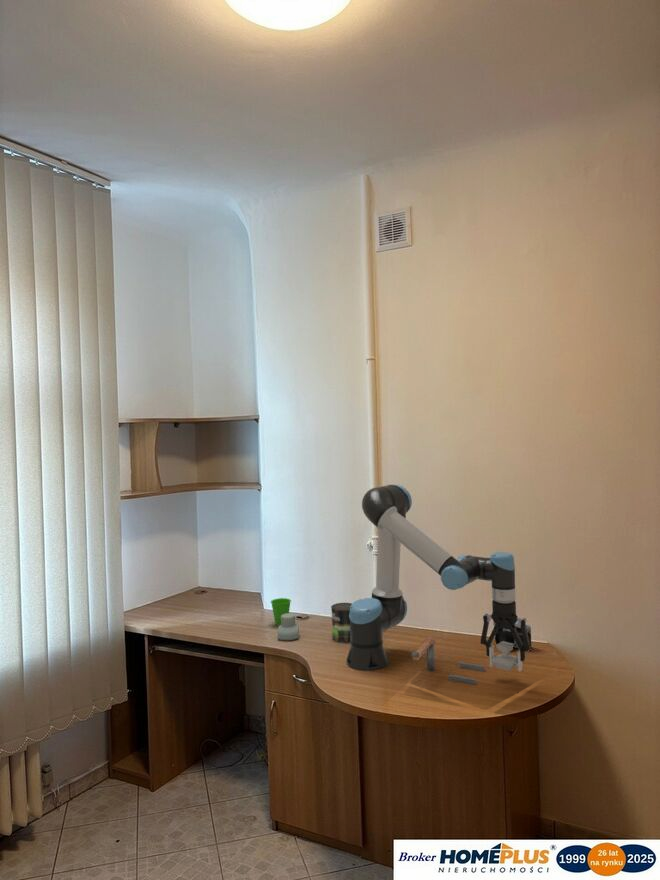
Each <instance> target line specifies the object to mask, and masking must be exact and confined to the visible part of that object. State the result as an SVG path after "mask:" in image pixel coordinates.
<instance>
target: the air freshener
mask: <svg viewBox="0 0 660 880" xmlns="http://www.w3.org/2000/svg"><path fill="white" fill-rule="evenodd" d="M299 628H300V627H299V625H298V624H297V623H296V614H294V613H290V612H289V613H286V614H283V615H281V625H280V626H279V627H278V626H277V638H278V640H280V641H284V640H285V641H287V642H289V641H295V640H297V639H299V637H300V629H299Z"/></svg>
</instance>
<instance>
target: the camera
mask: <svg viewBox="0 0 660 880" xmlns="http://www.w3.org/2000/svg"><path fill="white" fill-rule="evenodd" d="M492 621H493V620H492ZM514 625H515V627H516V630H517V632H518V634H519V636H520V638H521V640H522V642H523V644H524V640H523V636H522V632H521V626H520V625H519V623H518V622H516V623H515V624H514ZM494 626H495V622H494V621H493V627H494ZM526 629H527V633H528V637H529V641H530V645H531V647H530V649H531V650H532V627H531V625H529V624H528V623H526ZM502 641H504V642H508V643H513V644H514V647H516V648H519V647H518V645H517V643H516V641H515V639H514V637H513V635H512V633H511V632H510V630H509V629H505V628H498V630H497V632H496V635H495V637H494V642H495V644H496V645H497V644H498V643H500V642H502ZM524 646H525V645H524ZM516 648H515V649H516ZM530 649H529V650H530Z"/></svg>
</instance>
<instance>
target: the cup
mask: <svg viewBox="0 0 660 880" xmlns="http://www.w3.org/2000/svg"><path fill="white" fill-rule="evenodd" d="M291 602H292V600H291V599H290V598H286V597H281V598H280V597H279V598H274V599H272V600H271V601H270V603H271V607H272V612H273V618H274V623H275V626H276V627H278V626H280V625H281V615H283V614H286V613H290V610H291V609H290V608H291Z"/></svg>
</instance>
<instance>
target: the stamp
mask: <svg viewBox="0 0 660 880" xmlns="http://www.w3.org/2000/svg"><path fill="white" fill-rule="evenodd" d="M513 647H514V644H513V643H508V642H504V641H502V642H500V643H498V644H496V649H497V651H499V652H501V653H500V654H497V655H494V657H493V658H492V663H493V664H494V665H493V666H495V668H496V669H500V670H503V671H506V672H509V671H512V670H513V669H515V668H518V656H516V655H512V654H510V652H511V651H513V650H514V648H513Z"/></svg>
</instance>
